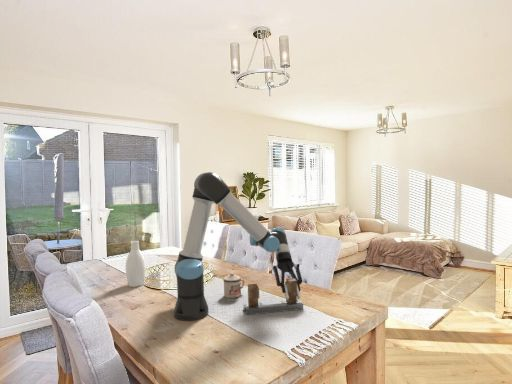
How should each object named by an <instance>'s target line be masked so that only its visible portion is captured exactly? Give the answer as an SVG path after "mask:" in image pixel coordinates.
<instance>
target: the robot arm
mask: <svg viewBox="0 0 512 384" xmlns="http://www.w3.org/2000/svg"><path fill="white" fill-rule="evenodd" d="M193 184H194V185H193V187H194V188H193V193H192V197H191V198H192V200H193V207H192V211H191V215H190V219H189V223H188V227H187V231H186V237H185V241H184V244H183V245H184V246H183V247H182V248H183V249H181V251H179V252H178V256H177V260H176V262H175V263H174V274H175V277H176V286H177V288H176V290H177V291H176V292H177V298H176V303H175V305H174V310H173V316H174V318H175V319H177V320H179V321H196V320H199V319H202V318H205V317H206V316H208V314H209V306H208V302H207V300H206V298H205V287H204V286H205V285H204V283H205V282H204V264H203V258H204V257H203V254H202V249H203V243H204V240H205V237H206V236H205V235H206V231H207V227H208V223H209V219H210V215H211V210H212V206H213V205H217V206H218V205H220V207H221V208H223V210H224V211H225V212H226V213H228V215H229V216H231V218H232V219H234V220H235V222H236V223H237V224H238V225H240V226H241V228H242V229H243V230H245V231H246V232H247V233H248V234H249V244H250V245H251V246H253V247H259V248H261V249H264V250H265V251H266V252H268V253H274V255H275V259H276V263H277V265H272V272H273V273H274V279H275V282H276V286H277V287H280V288H281V291H282V293H283V294H284V296H285V302H286V301H287V300H288V299H289V296H288V291H287V287H286V285H285V275H286V274H285V273H289V276H291V278H295V279H296V280H297V300H298V299H299V300H301V294H300V292H301V287H300V285H302V283H303V278H302V274H301V270H300V263H297V264H295V263H294V262H293V258H292V254H291V251H290V246H289V243H288V240H287V239H288V238H287V235H286V232H285V229H284V228H283V227H281V226H280V227H279V226H278V227H274V228H272V229H271V230H270V231H269V230H268V229H267V228H266V227H265V226H264V225H263V223H261V222H260V220H258V219H257V218H256V216H254V215H253V214H252V212H251V211H249V209H248V208H247V207H245V205H244V204H243V203H242V202H241V201H240V200H239V199H238V198H237V197H236V196H235V195H234V194H233V193H232V189H231V188H230V187H229V186H228V185H227V184H226V182H225V181H224V180H223V179H222V177H220V175H218V174H217V173H215V172H203V173H200V174H199V175H198V176H197V177H196V178H195V180H194V183H193ZM294 269H295V272H294ZM279 271H280V272H281V273H280V275H279ZM295 273H296V274H295ZM280 277H281V278H280Z"/></svg>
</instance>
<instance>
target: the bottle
mask: <svg viewBox="0 0 512 384" xmlns="http://www.w3.org/2000/svg"><path fill="white" fill-rule="evenodd" d="M139 242H140V240H131V241H130V251H129V253H128V255H127V257H126V260H125V261H126V262H125V275H126V281H127V286H128V287H130V288H137V287H141V286H143V285H144V284H145V282H146V275H147V270H146V269H147V268H146V267H147V264H146V263H147V262H146V259H145V256H144V255H143V253H142V252H141V250H140V243H139Z"/></svg>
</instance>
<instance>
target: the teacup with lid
mask: <svg viewBox="0 0 512 384" xmlns="http://www.w3.org/2000/svg"><path fill="white" fill-rule="evenodd" d="M222 280H223V296H224V297H225V298H227V299H236V297H237V298H239V297H240V296H241V295H242V289H243V288H244V287H245V280H244V279H242V278H241V276H239V275H236V274H235V273H234V272H230V273H229V274H228V275H227V276H225V277H224V278H223V279H222ZM241 282H242V285H241Z"/></svg>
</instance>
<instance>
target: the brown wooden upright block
mask: <svg viewBox="0 0 512 384" xmlns="http://www.w3.org/2000/svg"><path fill="white" fill-rule="evenodd" d="M284 285H286V287H287V291H288V296H289V299H288V300H287V301H286V300H285V303H289V302H297V300H298V299H297V280H296V279H295V278H292V277H291V278H285V281H284Z"/></svg>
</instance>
